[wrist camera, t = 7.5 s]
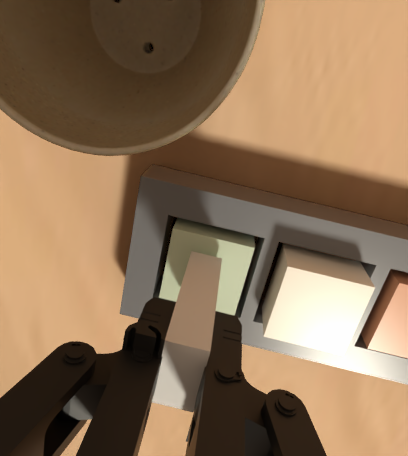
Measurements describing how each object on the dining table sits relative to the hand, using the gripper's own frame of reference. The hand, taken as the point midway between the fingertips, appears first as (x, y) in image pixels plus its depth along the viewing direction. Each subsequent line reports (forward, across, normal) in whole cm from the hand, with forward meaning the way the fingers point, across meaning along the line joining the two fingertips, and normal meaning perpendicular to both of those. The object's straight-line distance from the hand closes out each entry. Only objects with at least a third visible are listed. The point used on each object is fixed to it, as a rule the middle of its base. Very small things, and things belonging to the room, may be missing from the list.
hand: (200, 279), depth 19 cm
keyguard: (+3, +6, 0) cm, 7 cm away
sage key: (+3, 0, 0) cm, 3 cm away
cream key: (+2, +6, 0) cm, 6 cm away
